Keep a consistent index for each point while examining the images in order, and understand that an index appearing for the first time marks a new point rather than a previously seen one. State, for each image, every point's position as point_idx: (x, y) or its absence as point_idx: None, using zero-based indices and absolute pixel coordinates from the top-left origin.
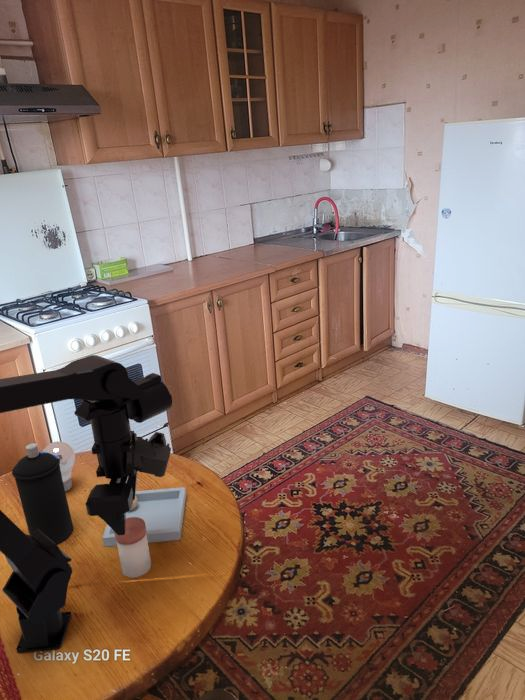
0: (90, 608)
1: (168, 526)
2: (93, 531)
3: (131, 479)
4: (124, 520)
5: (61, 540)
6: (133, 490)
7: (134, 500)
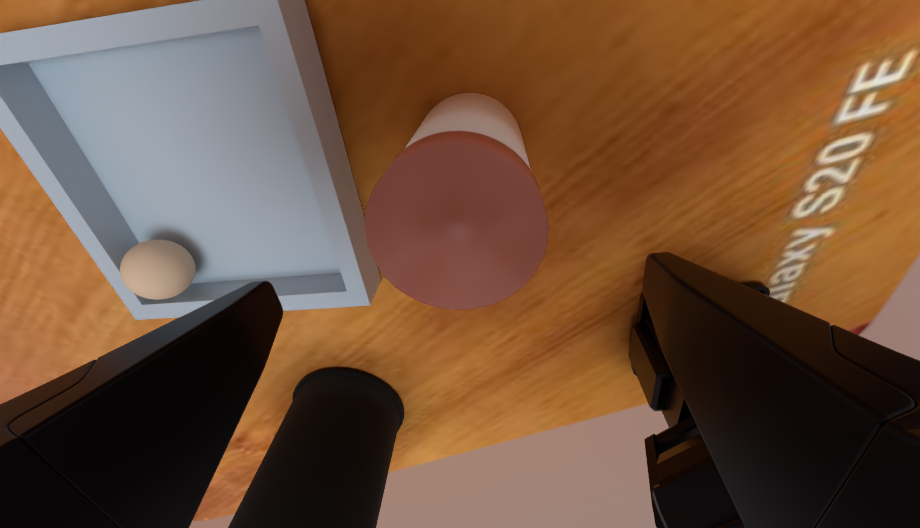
0: (628, 248)
1: (227, 77)
2: (311, 327)
3: (132, 419)
4: (841, 329)
5: (373, 391)
6: (220, 328)
7: (151, 256)
